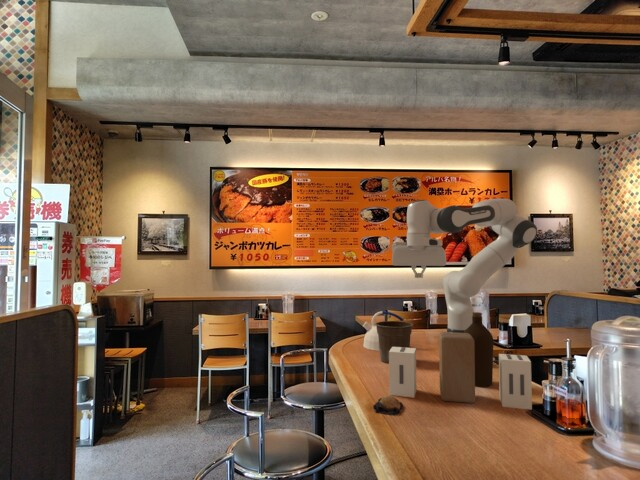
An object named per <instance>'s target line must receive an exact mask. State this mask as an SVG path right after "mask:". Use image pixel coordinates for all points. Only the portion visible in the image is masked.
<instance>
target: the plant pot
mask: <svg viewBox="0 0 640 480" xmlns="http://www.w3.org/2000/svg"><path fill="white" fill-rule="evenodd" d="M375 325H376V327H377V333H378V338H379V347H380V351H379V355H380V358H379V359H380V361H381V362H383V363H385V364H389V351H390V349H391V348H392V347H404V348H411V344H410V343H411V336H412V332H413V331H412V330H413V326H414V324H413V323H412V322H408V321H404V320H403V321H400V320H383V321H377V322H375Z"/></svg>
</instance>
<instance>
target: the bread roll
mask: <svg viewBox="0 0 640 480" xmlns="http://www.w3.org/2000/svg"><path fill="white" fill-rule="evenodd" d="M372 406H373V407H372V408H373V412H374V413H375V414H382V415H388V416H399V415H400V414H401V412H402V409H403V408H404V404H403V402H402V401H400V400H398V398H396V396H395V397H394V396H392V395H389V396H387V395H386V396H383V397H380V398H379V399H378V400H377V401H376V402H375V404H373V405H372Z"/></svg>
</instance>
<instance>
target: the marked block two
mask: <svg viewBox="0 0 640 480" xmlns="http://www.w3.org/2000/svg"><path fill="white" fill-rule="evenodd" d="M498 371H499V372H498V375H499V376H498V382H499V383H498V384H499V385H498V386H499V387H498V388H499V400H500V404H501V406H502V407H503V408H510V409H511V408H512V409H520V410H521V409H522V410H532V409H533V401H532V400H533V395H532V394H533V393H532V361H531V359H530V358H529V357H528V356H527V355H522V354H507V353H498ZM532 411H533V410H532Z"/></svg>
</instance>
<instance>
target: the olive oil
mask: <svg viewBox="0 0 640 480" xmlns="http://www.w3.org/2000/svg"><path fill="white" fill-rule="evenodd" d="M472 314H473V316H472V324H471V325H470V326H469V327H468V328H467V329H466V330H465V331H464V333H469V334H470V335H471V336H472V338H473V339H474V354H475V387H478V388H480V387H482V388H486V387H492V386H493V380H494V379H493V376H494V375H493V374H494V373H493V371H494V369H493V368H494V365H493V364H494V361H493V357H494V345H495V342H494V336H493V334H492V333H491V331H490V330H489V329H488V328H487V327H486V326H485V325H484V323H483V316H482V315H483V313H482V312H479V311H477V312H476V311H474V312H473V313H472Z"/></svg>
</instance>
